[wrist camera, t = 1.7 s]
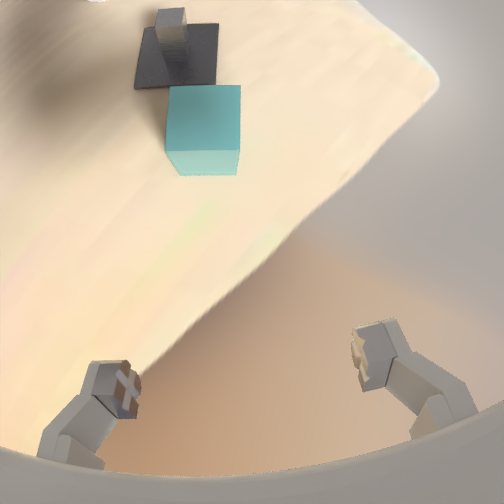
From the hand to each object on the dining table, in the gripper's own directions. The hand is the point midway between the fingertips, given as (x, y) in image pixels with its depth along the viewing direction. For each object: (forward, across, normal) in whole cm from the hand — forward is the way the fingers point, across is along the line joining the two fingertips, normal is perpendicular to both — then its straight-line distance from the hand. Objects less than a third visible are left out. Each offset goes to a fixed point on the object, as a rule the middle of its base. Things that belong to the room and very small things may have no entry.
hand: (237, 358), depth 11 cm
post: (+32, +4, -11) cm, 34 cm away
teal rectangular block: (+25, +2, 0) cm, 25 cm away
